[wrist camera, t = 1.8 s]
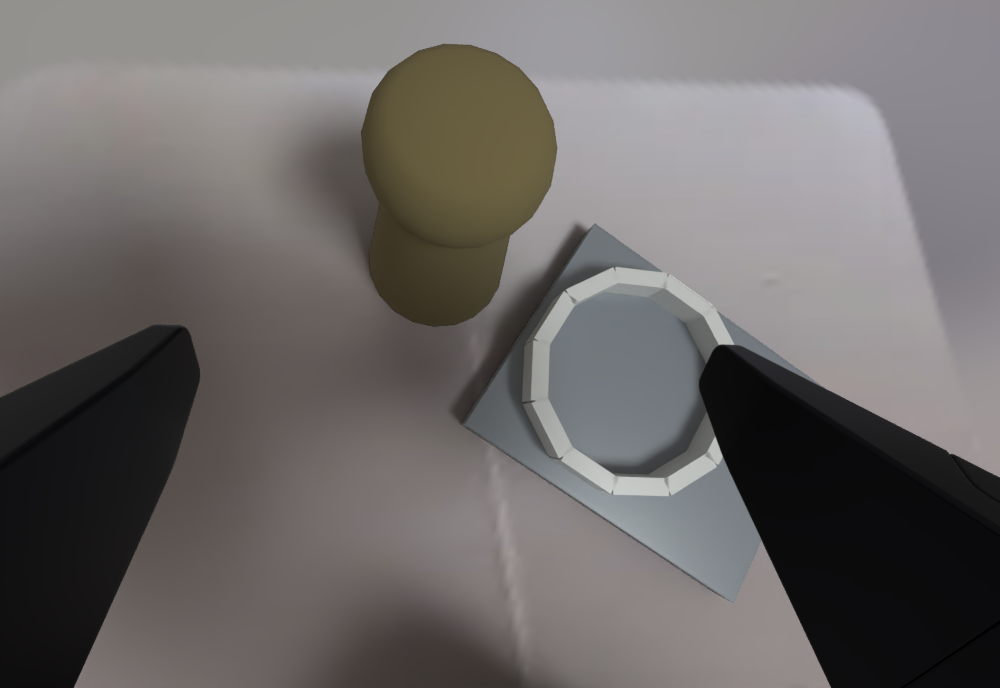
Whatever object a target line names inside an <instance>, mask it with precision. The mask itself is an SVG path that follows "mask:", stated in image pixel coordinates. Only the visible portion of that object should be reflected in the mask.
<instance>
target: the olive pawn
mask: <svg viewBox="0 0 1000 688" xmlns="http://www.w3.org/2000/svg"><path fill="white" fill-rule="evenodd" d="M361 136H362V147H363V158H364V166H365V171H366V175H367V177H368V179H369V181H370V183H371V186H372V188H373V190H374V192H375V195H376V197H377V199H378V201H379V202H380V204H379V209H378V214H377V219H376V223H375V228H374V233H373V238H372V243H371V248H370V253H369V261H370V272H371V277H372V279H373V282H374V284H375V286H376V288H377V291H378V293H379V295H380V296H381V297H382V298H383V299H384V301H385V302H386V303H387V304H388V305H389V306H390V307H391V308H392V309H393V310H394V311H395V312H397V313H398V314H400V315H402V316H404V317H405V318H407V319H409V320H410V321H412V322H416V323H420V324H425V325H429V326H433V327H435V326H447V325H456V324H458V323H460V322H463V321H465V320H468V319H470V318H472V317H474V316H475V315H477V314H478V313H479V312H480V311H481V310H482V309H483V308H485V307H486V306H487V305H488V304H489V303H490V301H491V299H492V298H493V296H494V294H495V292H496V291H497V289H498V287H499V283H500V279H501V274H502V270H503V265H504V261H505V256H506V252H507V247H508V243H509V238H510V235H512V234H513V233H514V232H515V231H516V230H518V229H519V228H520V227H521V226H522V225H524V224H525V223H526V222H527V221H528V220H530V219H531V218H532V216H533V215H534V213H535V212H536V210H537V209H538V207H539V205H540V204H541V202H542V200H543V198H544V197H545V195H546V193H547V192H548V190H549V188H550V186H551V182H552V177H553V172H554V166H555V161H556V154H557V143H556V136H555V129H554V123H553V119H552V117H551V115H550V113H549V111H548V109H547V107H546V105H545V103H544V101H543V98H542V96H541V94H540V92H539V90H538V88H537V87H536V86H535V85H534V84H533V83H532V81H531V80H530V79H529V78H528V77H527V76H526V75H525V74H524V72H522V71H521V70H520V68H519V67H517V66H515V65H514V64H512V63H511V62H509V61H508V60H506V59H505V58H503V57H502V56H500V55H498V54H497V53H494V52H491V51H488V50H485V49H481V48H478V47H475V46H472V45H458V44H442V45H438V46H434V47H430V48H427V49H423V50H419V51H417V52H416V53H414V54H413V55H411V56H410V57H408V58H407V59H405V60H404V61H402V62H401V63H399V64H398V65H396V66H395V67H393V68H392V69H390V70H389V71H388V72H387V74H386V75H385V76H384V78H383V79H382V80H381V82H380V83H379V85H378V86H377V87H376V89H375V90H374V91H373V93H372V96H371V99H370V102H369V105H368V109H367V113H366V116H365V120H364V124H363V127H362V131H361Z"/></svg>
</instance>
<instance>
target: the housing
mask: <svg viewBox="0 0 1000 688" xmlns="http://www.w3.org/2000/svg"><path fill="white" fill-rule="evenodd" d="M712 306H713V305H712V304H711V303H709V302H708V301H707V300H705V299H704V298H702V297H701V296H700V295H698V294H697V293H695V292H694V291H693V290H691V289H690V288H688V287H687V286H686V285H684V284H683V283H681V282H680V281H679V280H677V279H676V278H674V277H673V276H672V275H670V274H668V275H667V273H663V272H662V271H661V270H659V269H658V268H656V267H655V266H654V265H652V264H651V263H650V262H648V261H647V260H645V259H644V258H643V257H641V256H640V255H638V254H637V253H636V252H634V251H633V250H631V249H630V248H629V247H627V246H626V245H624V244H623V243H622V242H620V241H619V240H617V239H616V238H615V237H613V236H612V235H610V234H609V233H608V232H606V231H605V230H604V229H602V228H601V227H599V226H598V225H597V224H594V225H593V226H592V227H591V228H590V229H589V230H588V231H587V232H586V233H585V235H584V236H583V238H582V239H581V241H580V242H579V244H578V245H577V247H576V248H575V250H574V252H573V253H572V255H571V256H570V258H569V259H568V261H567V262H566V264H565V265H564V267H563V268H562V270H561V272H560V273H559V275H558V276H557V278H556V279H555V281H554V282H553V284H552V285H551V287H550V288H549V290H548V292H547V293H546V295H545V296H544V298H543V299H542V301H541V302H540V304H539V305H538V307H537V308H536V310H535V312H534V313H533V315H532V316H531V318H530V319H529V321H528V322H527V324H526V325H525V327H524V328H523V330H522V332H521V333H520V335H519V336H518V338H517V339H516V341H515V342H514V344H513V345H512V347H511V348H510V350H509V352H508V353H507V355H506V356H505V358H504V359H503V361H502V362H501V364H500V365H499V367H498V369H497V370H496V372H495V373H494V375H493V376H492V378H491V379H490V381H489V382H488V384H487V385H486V387H485V389H484V390H483V392H482V393H481V395H480V396H479V398H478V399H477V401H476V402H475V404H474V405H473V407H472V409H471V410H470V412H469V413H468V415H467V416H466V418H465V419H464V421H463V422H462V424H461V425H463V426H464V427H466V428H467V429H469V430H470V431H472V432H473V433H475V434H476V435H478V436H479V437H481V438H482V439H484V440H485V441H487V442H488V443H490V444H491V445H493V446H494V447H496V448H497V449H499V450H500V451H502V452H503V453H505V454H506V455H508V456H509V457H511V458H512V459H514V460H515V461H517V462H518V463H520V464H521V465H523V466H524V467H526V468H527V469H529V470H530V471H532V472H533V473H535V474H537V475H538V476H540V477H541V478H543V479H544V480H546V481H547V482H549V483H550V484H552V485H553V486H555V487H556V488H558V489H559V490H561V491H562V492H564V493H565V494H567V495H568V496H570V497H571V498H573V499H574V500H576V501H577V502H579V503H580V504H582V505H583V506H585V507H586V508H588V509H589V510H591V511H592V512H594V513H595V514H597V515H598V516H600V517H601V518H603V519H604V520H606V521H607V522H609V523H610V524H612V525H613V526H615V527H616V528H618V529H619V530H621V531H622V532H624V533H625V534H627V535H628V536H630V537H631V538H633V539H634V540H636V541H637V542H639V543H640V544H642V545H643V546H645V547H646V548H648V549H649V550H651V551H652V552H654V553H655V554H657V555H658V556H660V557H661V558H663V559H664V560H666V561H667V562H669V563H670V564H672V565H673V566H675V567H676V568H678V569H679V570H681V571H682V572H684V573H685V574H687V575H688V576H690V577H691V578H693V579H694V580H696V581H697V582H699V583H700V584H702V585H704V586H705V587H707V588H708V589H710V590H711V591H713V592H714V593H716V594H717V595H719V596H721V597H723V598H725V599H727V600H728V601H730V602H732V603H734V600H735V598H736V596H737V594H738V592H739V589H740V587H741V585H742V583H743V580H744V578H745V576H746V574H747V571H748V569H749V567H750V565H751V562H752V560H753V558H754V556H755V553H756V551H757V549H758V547H759V545H760V542H761V538H760V536H759V534H758V532H757V530H756V527H755V525H754V523H753V521H752V519H751V517H750V515H749V513H748V511H747V508H746V506H745V504H744V502H743V500H742V498H741V496H740V494H739V491H738V489H737V487H736V485H735V483H734V481H733V479H732V477H731V475H730V472H729V470H728V468H727V466H726V463H725V461H724V459H723V456H722V454H721V451H720V448H719V445H718V443H717V440H716V437H715V434H714V431H713V428H712V425H711V423H710V420H709V417H708V414H707V411H706V408H705V406H704V403H703V400H702V397H701V394H700V391H699V379H700V376H701V374H702V372H703V370H704V368H705V366H706V363H707V361H708V359H709V357H710V355H711V353H712V351H713V349H714V348H715V347H716V346H718V345H720V344H729V345H741V346H743V347H745V348H747V349H749V350H751V351H753V352H755V353H757V354H759V355H761V356H762V357H764V358H766V359H768V360H770V361H772V362H774V363H776V364H778V365H780V366H782V367H784V368H786V369H788V370H790V371H792V372H794V373H796V374H798V375H800V376H802V377H804V378H805V379H807V380H809V381H811V382H813V383H815V384H817V385H819V386H821V385H820V384H818V383H817V382H815V381H814V380H813V379H811V378H810V377H809V376H807V375H806V374H804V373H803V372H802V371H800V370H799V369H797V368H796V367H795V366H793V365H792V364H790V363H789V362H788V361H786V360H785V359H783V358H782V357H781V356H779V355H778V354H776V353H775V352H774V351H772V350H771V349H769V348H768V347H767V346H765V345H764V344H762V343H761V342H760V341H758V340H757V339H756V338H754V337H753V336H751V335H750V334H749V333H747V332H746V331H744V330H743V329H742V328H740V327H739V326H737V325H736V324H735V323H733V322H732V321H730V320H729V319H728V318H726V317H725V316H723V315H722V314H721V313H719V312H718V311H716V309H715V307H713V308H712ZM821 387H822V386H821ZM823 388H824V387H823Z"/></svg>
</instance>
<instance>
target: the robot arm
mask: <svg viewBox="0 0 1000 688" xmlns="http://www.w3.org/2000/svg"><path fill="white" fill-rule="evenodd" d="M199 380H200V368H199V364H198V361H197V357H196V353H195V350H194V346H193V343H192V339H191V335H190V333H189V331H188V330H187V328H185V327H184V326H181V325H153V326H150V327H148V328H146V329H144V330H142V331H140V332H138V333H136V334H134V335H131V336H129V337H127V338H125V339H123V340H121V341H119V342H117V343H115V344H112V345H110V346H108V347H106V348H104V349H102V350H100V351H98V352H96V353H93V354H91V355H89V356H87V357H85V358H83V359H81V360H79V361H77V362H74V363H72V364H70V365H68V366H66V367H64V368H62V369H60V370H57V371H55V372H53V373H51V374H49V375H47V376H45V377H43V378H41V379H38V380H36V381H34V382H32V383H30V384H28V385H26V386H24V387H22V388H19V389H17V390H15V391H13V392H11V393H9V394H7V395H5V396H3V397H0V688H74V686H75V684H76V682H77V679H78V677H79V675H80V673H81V670H82V668H83V666H84V664H85V662H86V659H87V657H88V655H89V653H90V651H91V648H92V646H93V644H94V642H95V639H96V637H97V635H98V633H99V631H100V628H101V626H102V624H103V622H104V619H105V617H106V615H107V613H108V611H109V608H110V606H111V604H112V602H113V600H114V597H115V595H116V593H117V591H118V588H119V586H120V584H121V582H122V580H123V577H124V575H125V573H126V571H127V569H128V566H129V564H130V562H131V560H132V557H133V555H134V553H135V551H136V549H137V546H138V544H139V542H140V540H141V538H142V535H143V533H144V531H145V529H146V526H147V524H148V522H149V520H150V518H151V515H152V513H153V511H154V509H155V507H156V504H157V502H158V500H159V498H160V495H161V493H162V491H163V489H164V487H165V484H166V482H167V480H168V477H169V475H170V473H171V470H172V468H173V465H174V462H175V459H176V456H177V453H178V450H179V447H180V444H181V440H182V437H183V434H184V431H185V427H186V424H187V421H188V417H189V414H190V411H191V408H192V404H193V401H194V398H195V394H196V391H197V388H198V385H199ZM699 391H700V394H701V397H702V400H703V403H704V406H705V408H706V411H707V414H708V417H709V420H710V423H711V425H712V428H713V431H714V434H715V437H716V440H717V443H718V445H719V448H720V451H721V454H722V456H723V459H724V461H725V463H726V466H727V468H728V470H729V472H730V475H731V477H732V479H733V481H734V483H735V485H736V487H737V489H738V491H739V494H740V496H741V498H742V500H743V502H744V504H745V506H746V508H747V511H748V513H749V515H750V517H751V519H752V521H753V523H754V525H755V527H756V530H757V532H758V534H759V536H760V538H761V540H762V542H763V544H764V547H765V549H766V551H767V553H768V555H769V557H770V559H771V561H772V564H773V566H774V568H775V570H776V572H777V574H778V576H779V578H780V580H781V583H782V585H783V587H784V589H785V591H786V593H787V595H788V597H789V600H790V602H791V604H792V606H793V608H794V610H795V612H796V614H797V616H798V619H799V621H800V623H801V625H802V627H803V629H804V631H805V633H806V636H807V638H808V640H809V642H810V644H811V646H812V648H813V650H814V653H815V655H816V657H817V659H818V661H819V663H820V665H821V667H822V669H823V672H824V674H825V676H826V678H827V680H828V682H829V684H830V686H831V688H1000V477H998V476H996V475H994V474H992V473H990V472H988V471H986V470H984V469H982V468H980V467H978V466H976V465H974V464H972V463H970V462H968V461H966V460H964V459H962V458H960V457H958V456H956V455H954V454H949V453H948V452H947V451H946V450H944V449H942V448H940V447H938V446H936V445H934V444H932V443H931V442H929V441H927V440H925V439H923V438H921V437H919V436H917V435H915V434H913V433H911V432H909V431H907V430H905V429H903V428H901V427H899V426H897V425H895V424H893V423H891V422H889V421H888V420H886V419H884V418H882V417H880V416H878V415H876V414H874V413H872V412H870V411H868V410H866V409H864V408H862V407H860V406H858V405H856V404H854V403H852V402H850V401H848V400H846V399H845V398H843V397H841V396H839V395H837V394H835V393H833V392H831V391H829V390H827V389H825V388H823V387H821V386H819V385H817V384H815V383H813V382H811V381H809V380H807V379H805V378H804V377H802V376H800V375H798V374H796V373H794V372H792V371H790V370H788V369H786V368H784V367H782V366H780V365H778V364H776V363H774V362H772V361H770V360H768V359H766V358H764V357H762V356H761V355H759V354H757V353H755V352H753V351H751V350H749V349H747V348H745V347H743V346H741V345H729V344H720V345H718V346H716V347H715V348H714V349H713V351H712V353H711V355H710V357H709V359H708V361H707V363H706V366H705V368H704V370H703V372H702V374H701V376H700V379H699Z"/></svg>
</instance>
